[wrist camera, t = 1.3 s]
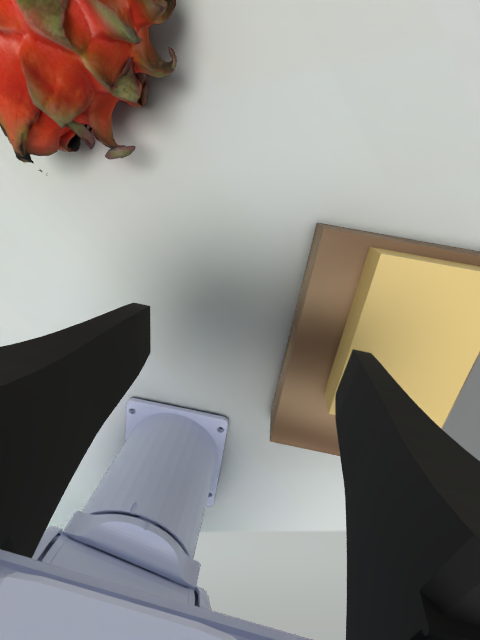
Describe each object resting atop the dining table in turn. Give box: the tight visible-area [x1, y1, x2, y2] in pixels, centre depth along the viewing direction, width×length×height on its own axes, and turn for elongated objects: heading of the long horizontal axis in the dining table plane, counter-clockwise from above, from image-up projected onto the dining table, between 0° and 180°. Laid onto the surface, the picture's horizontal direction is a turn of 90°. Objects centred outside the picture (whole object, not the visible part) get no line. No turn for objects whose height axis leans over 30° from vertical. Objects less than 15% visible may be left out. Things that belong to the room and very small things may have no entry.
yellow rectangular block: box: [324, 247, 480, 428], centre depth 17 cm, size 9×6×2 cm, turn 171°
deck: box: [270, 223, 480, 456], centre depth 20 cm, size 14×10×3 cm
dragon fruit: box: [0, 0, 177, 175], centre depth 14 cm, size 8×8×12 cm
